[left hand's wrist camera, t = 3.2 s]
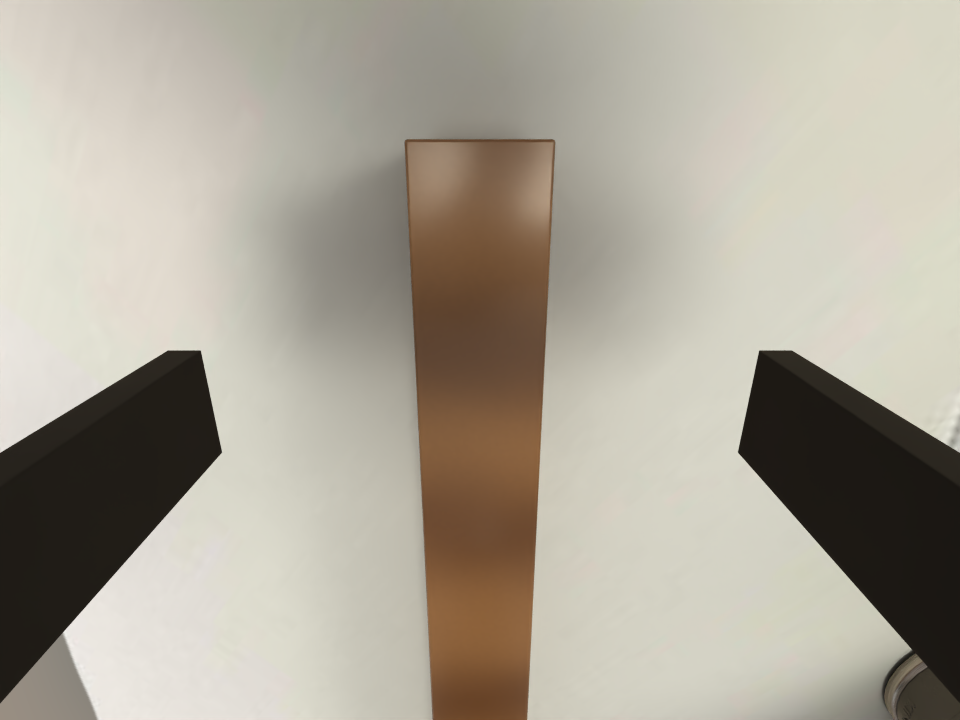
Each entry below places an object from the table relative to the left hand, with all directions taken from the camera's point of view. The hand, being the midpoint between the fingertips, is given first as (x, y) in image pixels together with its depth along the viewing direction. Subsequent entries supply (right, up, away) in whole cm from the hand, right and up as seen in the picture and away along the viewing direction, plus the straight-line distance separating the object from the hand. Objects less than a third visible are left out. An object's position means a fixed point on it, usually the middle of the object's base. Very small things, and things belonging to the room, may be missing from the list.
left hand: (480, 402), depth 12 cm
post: (0, -13, +21) cm, 25 cm away
